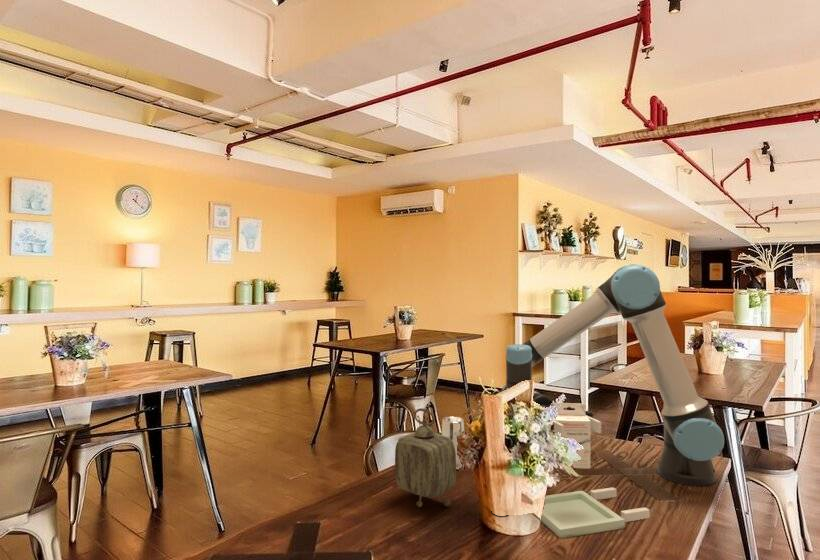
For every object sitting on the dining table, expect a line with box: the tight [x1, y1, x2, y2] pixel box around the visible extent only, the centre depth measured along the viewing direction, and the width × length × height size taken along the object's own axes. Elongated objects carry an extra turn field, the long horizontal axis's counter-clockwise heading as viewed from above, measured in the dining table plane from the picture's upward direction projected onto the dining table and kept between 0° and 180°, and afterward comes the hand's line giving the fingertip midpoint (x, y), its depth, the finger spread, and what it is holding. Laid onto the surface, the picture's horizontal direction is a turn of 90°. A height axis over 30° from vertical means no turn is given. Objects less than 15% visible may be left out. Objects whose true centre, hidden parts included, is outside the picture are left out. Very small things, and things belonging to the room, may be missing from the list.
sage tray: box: [541, 490, 626, 539], centre depth 128 cm, size 17×17×2 cm
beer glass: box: [441, 416, 465, 469], centre depth 161 cm, size 7×7×15 cm
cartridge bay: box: [589, 486, 651, 523], centre depth 133 cm, size 7×14×2 cm, turn 15°
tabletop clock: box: [394, 407, 457, 508], centre depth 136 cm, size 14×9×25 cm, turn 48°
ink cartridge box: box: [553, 402, 592, 469], centre depth 128 cm, size 9×5×15 cm, turn 84°
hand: (581, 429), depth 123 cm, fingers closed on ink cartridge box, 9 cm apart
